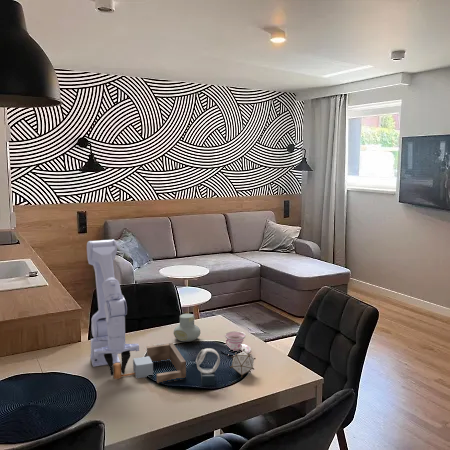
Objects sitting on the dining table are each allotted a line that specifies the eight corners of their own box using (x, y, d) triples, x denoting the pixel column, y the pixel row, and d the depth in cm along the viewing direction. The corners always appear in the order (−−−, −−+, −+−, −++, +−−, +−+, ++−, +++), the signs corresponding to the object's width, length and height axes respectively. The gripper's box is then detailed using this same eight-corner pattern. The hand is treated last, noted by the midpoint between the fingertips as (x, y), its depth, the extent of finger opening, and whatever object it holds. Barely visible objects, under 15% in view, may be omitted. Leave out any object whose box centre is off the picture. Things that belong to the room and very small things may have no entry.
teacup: (234, 342, 189) (235, 327, 188) (257, 350, 181) (257, 335, 180) (213, 350, 181) (213, 335, 180) (236, 359, 172) (236, 343, 171)
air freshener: (170, 339, 191) (169, 316, 190) (182, 333, 198) (182, 310, 197) (191, 345, 185) (191, 321, 184) (203, 338, 192) (203, 315, 191)
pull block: (114, 381, 154) (114, 368, 153) (112, 374, 159) (112, 361, 159) (153, 375, 158) (152, 363, 158) (149, 368, 164) (149, 356, 163)
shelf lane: (157, 383, 153) (157, 365, 153) (147, 362, 169) (146, 346, 168) (185, 378, 157) (185, 361, 156) (172, 358, 173) (172, 342, 172)
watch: (195, 377, 157) (195, 346, 156) (219, 377, 158) (219, 345, 156) (195, 385, 152) (195, 353, 150) (220, 384, 152) (220, 352, 151)
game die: (240, 381, 163) (243, 352, 168) (259, 380, 157) (261, 350, 162) (223, 375, 157) (226, 346, 162) (242, 374, 152) (244, 343, 157)
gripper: (94, 341, 149) (96, 382, 151) (140, 336, 154) (141, 375, 156) (92, 334, 155) (94, 373, 157) (136, 328, 161) (137, 366, 162)
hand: (117, 373), depth 157 cm, fingers open, 3 cm apart
